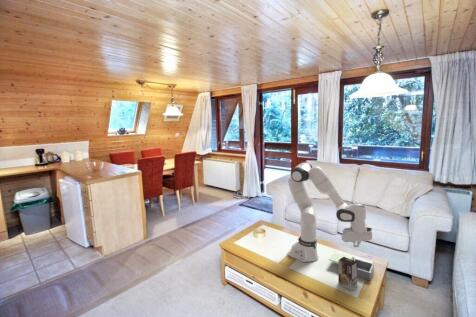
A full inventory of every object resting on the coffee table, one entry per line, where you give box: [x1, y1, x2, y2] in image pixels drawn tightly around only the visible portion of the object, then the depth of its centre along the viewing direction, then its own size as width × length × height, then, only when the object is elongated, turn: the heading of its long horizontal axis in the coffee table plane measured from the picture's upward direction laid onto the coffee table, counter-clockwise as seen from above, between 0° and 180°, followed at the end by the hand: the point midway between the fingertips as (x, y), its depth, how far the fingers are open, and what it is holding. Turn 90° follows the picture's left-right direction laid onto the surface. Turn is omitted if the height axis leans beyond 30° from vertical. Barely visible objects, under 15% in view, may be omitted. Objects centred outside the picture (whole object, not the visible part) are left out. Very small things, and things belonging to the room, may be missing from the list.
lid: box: [328, 251, 357, 264], centre depth 169 cm, size 15×13×3 cm
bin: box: [355, 258, 375, 282], centre depth 162 cm, size 15×13×5 cm
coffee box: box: [337, 257, 358, 292], centre depth 149 cm, size 9×6×16 cm
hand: (356, 246), depth 163 cm, fingers closed
